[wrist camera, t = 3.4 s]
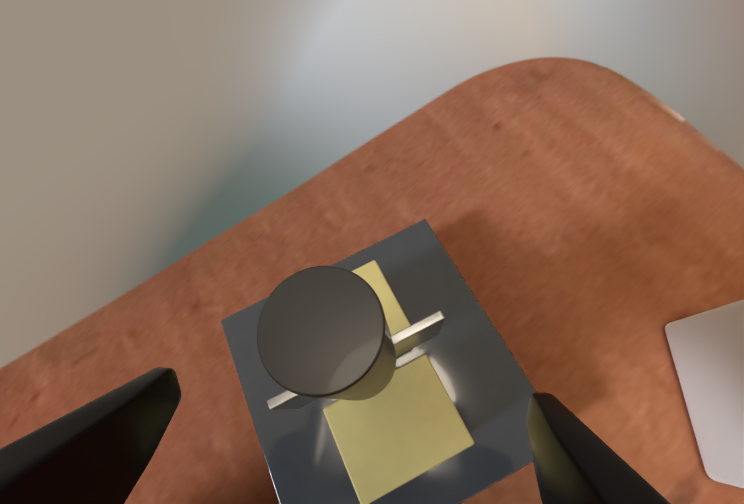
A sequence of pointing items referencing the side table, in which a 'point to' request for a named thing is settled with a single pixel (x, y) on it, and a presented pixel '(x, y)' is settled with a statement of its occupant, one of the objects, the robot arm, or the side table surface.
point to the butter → (396, 417)
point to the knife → (331, 338)
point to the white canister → (714, 385)
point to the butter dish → (445, 351)
